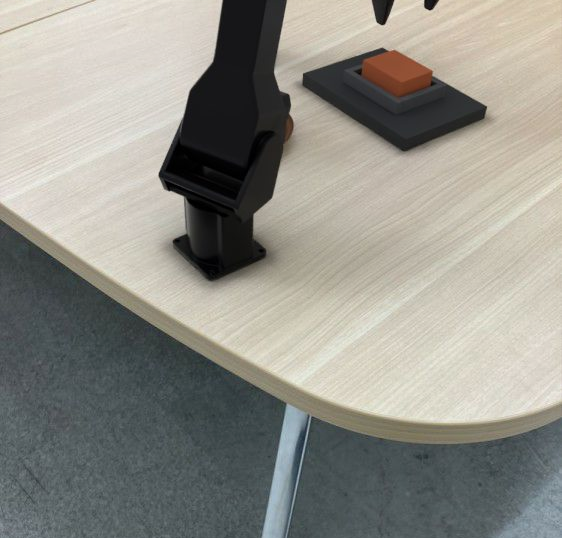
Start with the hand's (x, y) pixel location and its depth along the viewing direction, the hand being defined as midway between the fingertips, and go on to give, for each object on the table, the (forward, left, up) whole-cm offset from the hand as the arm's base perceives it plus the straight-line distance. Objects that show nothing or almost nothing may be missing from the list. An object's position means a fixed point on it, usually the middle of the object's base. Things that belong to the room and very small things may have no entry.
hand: (404, 16), depth 86 cm
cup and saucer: (+3, +20, -10) cm, 23 cm away
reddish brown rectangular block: (0, 0, -8) cm, 9 cm away
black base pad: (0, 0, -10) cm, 10 cm away
